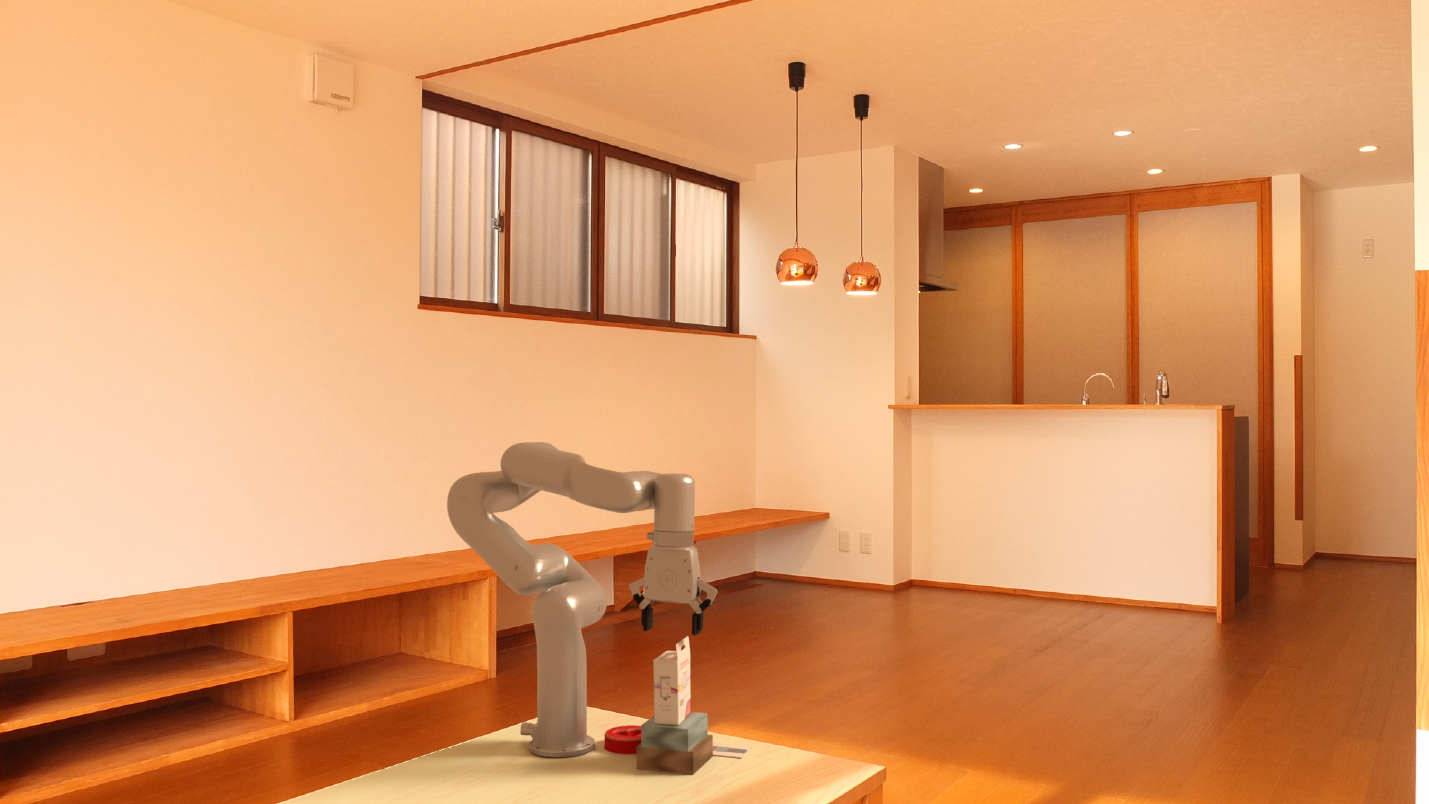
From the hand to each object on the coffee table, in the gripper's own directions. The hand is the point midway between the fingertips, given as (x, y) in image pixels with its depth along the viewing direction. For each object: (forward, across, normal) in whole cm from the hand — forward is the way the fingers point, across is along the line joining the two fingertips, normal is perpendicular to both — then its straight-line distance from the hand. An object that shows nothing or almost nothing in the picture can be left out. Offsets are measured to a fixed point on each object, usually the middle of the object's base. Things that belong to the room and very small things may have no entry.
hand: (671, 631), depth 193 cm
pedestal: (+24, +1, 0) cm, 24 cm away
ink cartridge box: (+16, 0, 0) cm, 16 cm away
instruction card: (+24, +7, +9) cm, 27 cm away
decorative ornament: (+25, -11, +6) cm, 28 cm away
